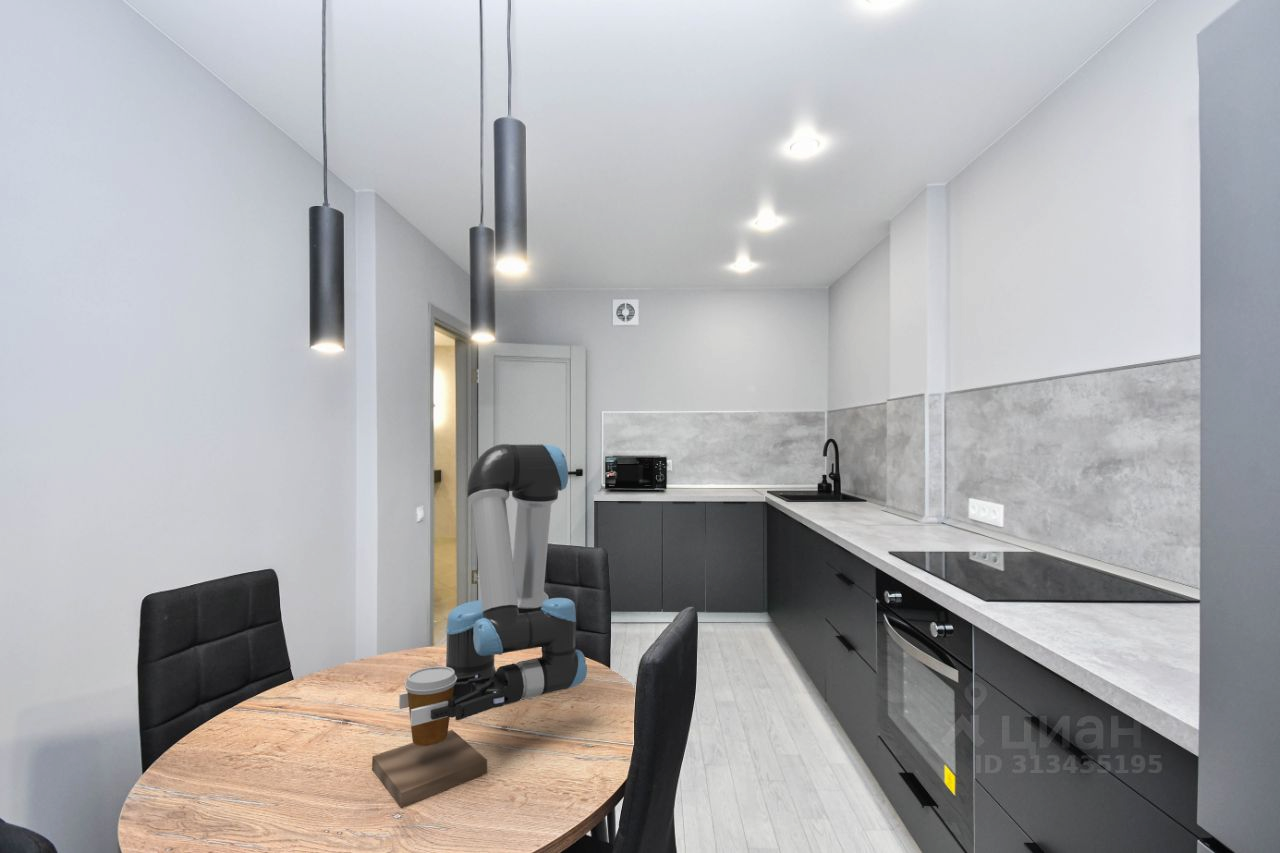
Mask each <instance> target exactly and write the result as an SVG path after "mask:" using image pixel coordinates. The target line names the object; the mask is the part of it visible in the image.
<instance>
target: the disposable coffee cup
mask: <svg viewBox="0 0 1280 853" xmlns="http://www.w3.org/2000/svg"><path fill="white" fill-rule="evenodd" d="M456 680H457V677H456V675H455V672H454V670H453V669H452V668H449V667H446V666H429V667H428V666H427V667H424V668H421V669H420V668H419V669H416V670H414V671H413V672H411V673H409V674H408V676H407V677H406V681H405V683H404V688H405V690H406V692H407V693H408V703H409V707H408V712H409V720H410V723H411V709H415V708H419V707H423V706H427V705H431V704H435V703H439V702H443V701H448V705H449V699H450V698H451V699H452V697H453V690H454V685H455V682H456ZM450 719H451V717H449V716H448V717H445V718H441V719H437V720H434V721H430V722H426V723H422V724H418V725H415V726H411V725H410V730H411V739H412V740H411V742H412V743H414V744H415V745H419V746H429V745H434V744H437V743H440V742H442V741H443V740H445V739H446V737H447V733H448V731H449V724H450Z"/></svg>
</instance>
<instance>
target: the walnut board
mask: <svg viewBox="0 0 1280 853" xmlns="http://www.w3.org/2000/svg"><path fill="white" fill-rule="evenodd" d="M371 758H372V760H371V762H372V763H371V770H372V771H373V773H374V774H375V775H376V777H377V778H378V779H379V781H380V782H381V784H382V785H383V786H384V787H385V789H386V791H388V792H389V795H390V796H392V798H393V799H394V801H395V802H396V803H397V805H398V806H399V807H400V808H405V807H407V806H409V805H412V804H415V803H417V802H420V801H423V800H424V799H427V798H429V797H432V796H435V795H437V794H440V793H442V792H444V791H446V790H449V789H452V788H454V787H456V786H459V785H462V784H464V783H467V782H470V781H472V780H474V779H476V778H479V777H481V776H484V775H486V774H487V773H488V759H487V758H486V757H484V756H483V755H482V754H481V753H480V752H478V750H476V749H475V748H474V747H473V746H472V745H471V744H470V743H468V742H467V740H465V739H464V738H462V736H460V735H459V734H458V733H457V732H456V731H455V730H453V729H448V733H447V737H446V739H445V740H443V741H442V742H440V743H437V744H434V745H429V746H419V745H415V744H414V743H413V742H411V743H407V744H405V745H402V746H399V747H396V748H392V749H390V750H386V751H383V752H381V753H378V754H376V755H372V757H371Z"/></svg>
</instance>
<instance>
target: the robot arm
mask: <svg viewBox="0 0 1280 853" xmlns="http://www.w3.org/2000/svg"><path fill="white" fill-rule="evenodd" d="M568 468H569V467H568V463H567V458H566V456H565V453H564V452H563V450H562V449H561V448H560V447H558V446H556V445H549V444H548V445H547V444H544V443H543V444H539V443H538V444H509V443H502V444H496V445H494V446H492V447H490V448H488V449H487V450H486V451H484V452H483V453H482V454H481V455H480V456H479V457H478V458H477V460H476V461H475V462H474V464H473V466H472V468H471V471H470V473H469V476H468V480H467V489H466V492H467V493H466V494H467V501H468V503H469V504H471V506H472V511H473V523H474V530H475V531H474V532H475V541H476V544H475V545H476V554H477V555H476V556H477V564H478V566H477V567H478V573H479V574H478V575H479V576H478V578H479V585H480V595H481V596H480V597H481V599H480V600H471V601H469V602H465V603H462V604H460V605H457V606H456V607H454V608H453V609H451V610H450V612H449V613H448V616H447V622H446V629H445V632H446V652H445V653H446V655H445V656H446V657H445V658H446V659H445V661H446V662H445V663H446V664H445V667H449V668H452V669H453V670H454V672H455V675H456V677H457V680H456V682H455V685H454V690H453V697H452V699H451V698H450V699H449V705H448V701H443V702H439V703H435V704H431V705H427V706H423V707H419V708H415V709H411V722H410V727H411V726H415V725H418V724H422V723H426V722H430V721H434V720H437V719H441V718H445V717H448V716H449V717H450V719H451V718H455V720H456V721H460V720H463V719H467V718H469V717H472V716H475V715H478V714H480V713H482V712H483V713H484V712H485V711H488V710H491V709H496V708H500V707H503V706H506V705H510V704H513V703H518V702H520V701H522V700H523V701H524V700H527V699H528V700H530V701H531V700H532V699H533V698H536V697H538V696H543V695H546V694H549V693H550V694H551V693H554V692H558V691H559V692H560V691H564V690H565V691H566V690H568V689H571V688H573V687H576V686H579V685H580V684H582V683H583V682H584V681H585V679H586V677H587V676H588V675H587V674H588V664H587V663H586V660H587V659H586V657H585V655H584V653H583V652H582V651H581V650H579V649H576V628H577V626H576V625H577V619H576V618H577V617H576V616H577V615H576V612H577V611H576V604H575V602H574V601H573V600H572V599H569V598H567V597H566V598H565V597H554V598H549V595H548V594H547V593H546V592H545V581H546V580H545V579H546V570H547V557H548V556H547V555H548V545H549V536H550V534H549V533H550V522H551V512H552V504H553V503H555V502H556V501H558V499H559V498H558V497H559V491H560V492H561V491H564V490H565V489H566V488H567V485H568V483H569V469H568ZM510 492H511V497H512V498H513V499H514V501H515V502H516V503H517V505H516V506H517V507H516V518H515V529H514V530H515V531H514V543H513V551H512V543H511V536H510V526H509V519H508V518H509V517H508V509H507V500H508V499H509V498H510ZM536 648H541V656H540V657H536V658H532V659H531V658H530V659H526V660H521V661H518V662H516V663H510V664H505V665H501V666H498V667H497V668H496V667H495V656H496V655H499V656H500V655H503V654H507V653H513V652H517V651H524V650H530V649H531V650H532V649H536ZM398 695H399V696H398V699H399V700H398V709H399V710H402V709H408V708H409V703H408V693H407V691H406V692H401V693H399V694H398Z"/></svg>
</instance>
